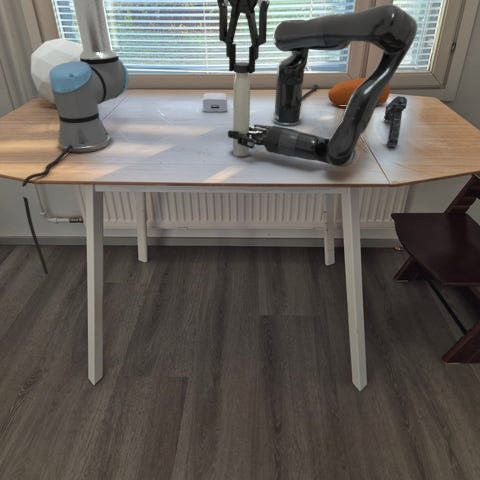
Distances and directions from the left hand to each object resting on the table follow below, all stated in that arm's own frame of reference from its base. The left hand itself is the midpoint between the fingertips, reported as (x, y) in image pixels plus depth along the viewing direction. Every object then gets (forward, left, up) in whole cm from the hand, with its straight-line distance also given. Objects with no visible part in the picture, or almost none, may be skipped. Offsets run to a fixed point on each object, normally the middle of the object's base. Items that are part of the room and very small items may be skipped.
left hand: (242, 71), depth 111 cm
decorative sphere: (+7, +83, -24) cm, 87 cm away
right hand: (0, +3, -17) cm, 17 cm away
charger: (+36, +33, -24) cm, 55 cm away
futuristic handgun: (+42, -35, -24) cm, 60 cm away
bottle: (0, 0, -24) cm, 24 cm away
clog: (+69, -15, -24) cm, 75 cm away
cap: (0, 0, +2) cm, 2 cm away
